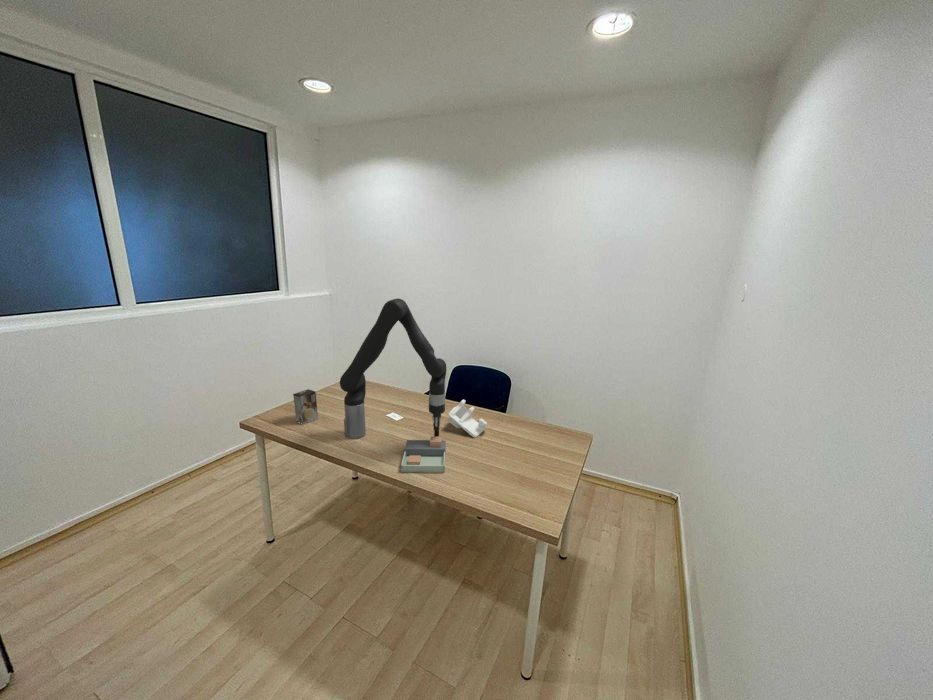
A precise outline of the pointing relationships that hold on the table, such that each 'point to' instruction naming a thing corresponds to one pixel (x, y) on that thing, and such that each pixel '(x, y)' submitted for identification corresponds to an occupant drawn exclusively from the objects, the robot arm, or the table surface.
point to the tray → (424, 464)
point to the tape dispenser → (466, 420)
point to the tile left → (414, 460)
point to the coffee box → (305, 406)
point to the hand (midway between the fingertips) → (436, 436)
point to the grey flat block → (424, 448)
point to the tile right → (435, 441)
